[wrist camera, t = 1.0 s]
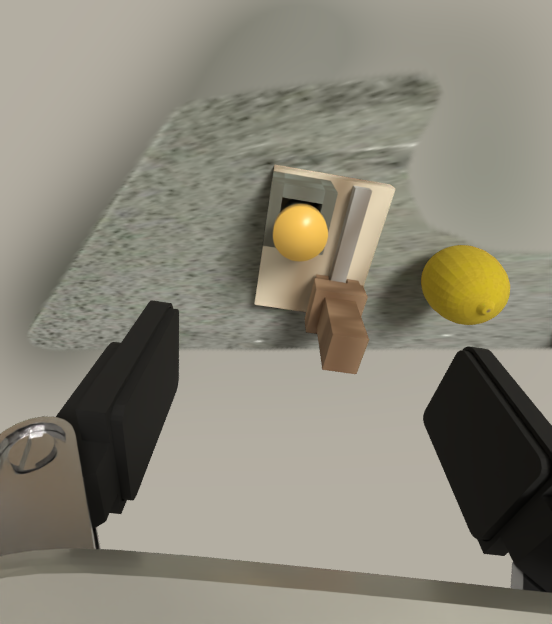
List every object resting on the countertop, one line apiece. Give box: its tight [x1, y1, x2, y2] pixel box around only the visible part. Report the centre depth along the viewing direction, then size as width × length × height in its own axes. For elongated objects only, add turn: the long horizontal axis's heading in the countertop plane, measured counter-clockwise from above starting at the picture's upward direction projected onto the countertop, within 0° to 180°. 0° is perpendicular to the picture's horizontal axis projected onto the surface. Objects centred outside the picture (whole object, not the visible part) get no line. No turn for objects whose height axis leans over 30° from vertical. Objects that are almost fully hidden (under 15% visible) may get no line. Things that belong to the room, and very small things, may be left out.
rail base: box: [255, 165, 395, 312], centre depth 27 cm, size 9×12×6 cm
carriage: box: [305, 274, 369, 374], centre depth 26 cm, size 4×4×8 cm
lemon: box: [421, 245, 510, 325], centre depth 26 cm, size 6×6×8 cm
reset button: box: [273, 199, 328, 261], centre depth 22 cm, size 3×3×5 cm
